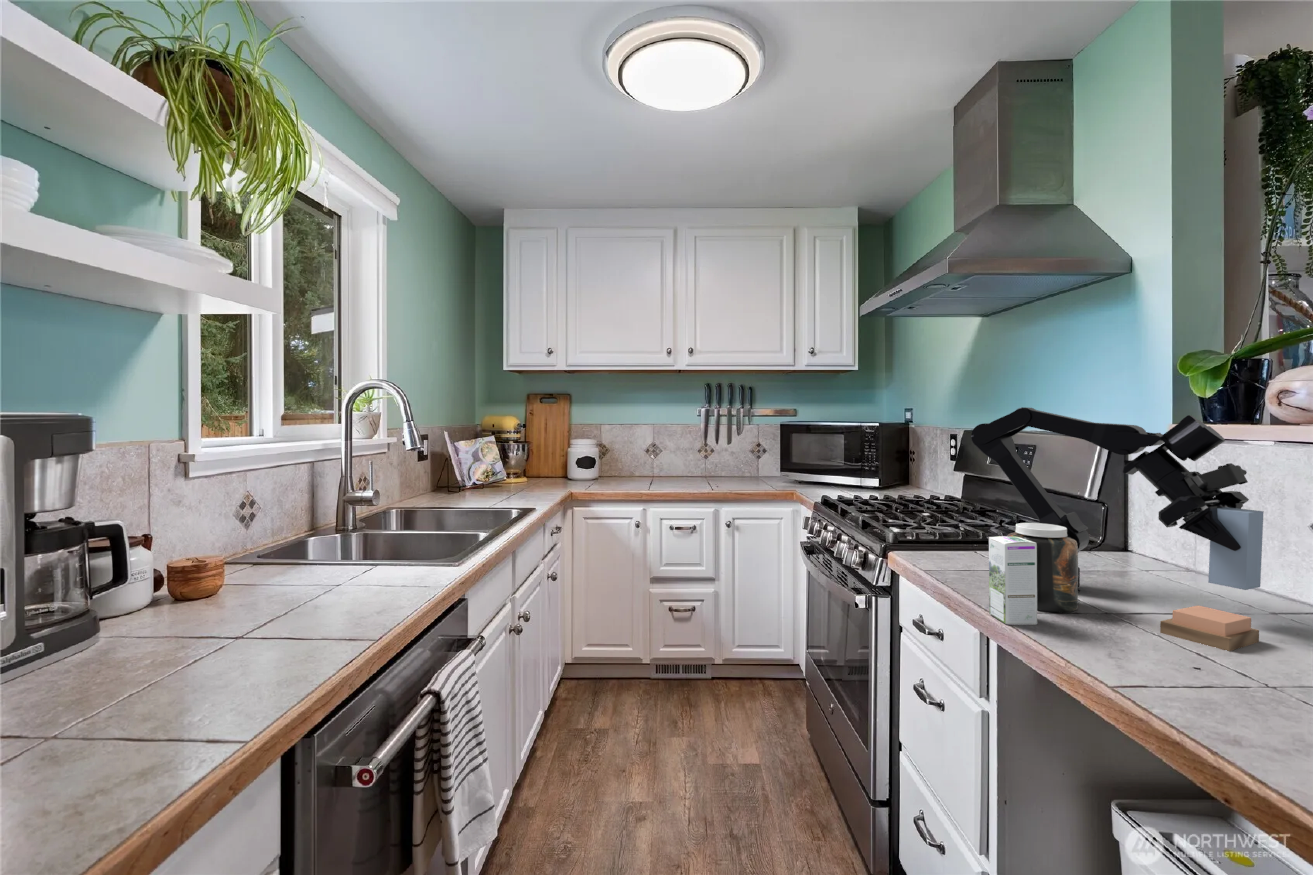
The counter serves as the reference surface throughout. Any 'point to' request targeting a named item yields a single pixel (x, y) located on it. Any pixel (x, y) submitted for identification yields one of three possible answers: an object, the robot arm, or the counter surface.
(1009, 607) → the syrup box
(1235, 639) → the walnut block
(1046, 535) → the jar
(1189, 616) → the terracotta block
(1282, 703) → the counter surface
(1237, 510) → the slate blue block
